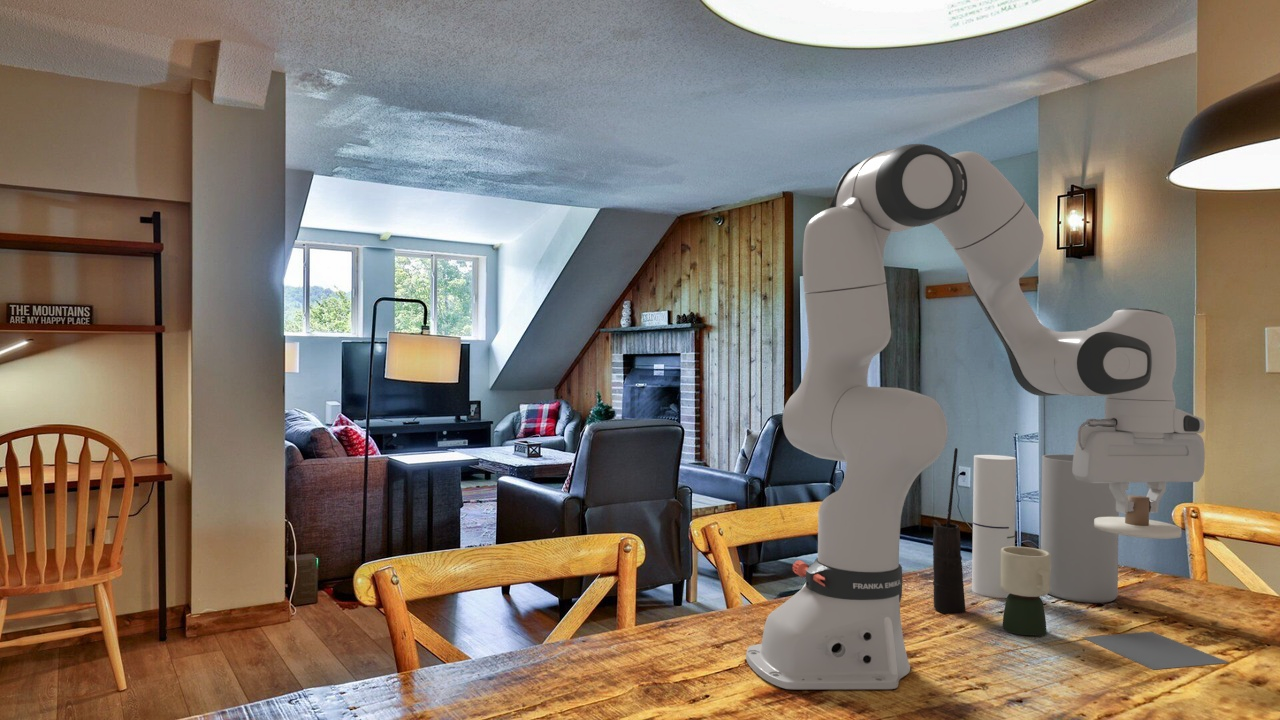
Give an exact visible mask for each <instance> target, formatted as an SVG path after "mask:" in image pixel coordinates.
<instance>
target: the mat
mask: <svg viewBox="0 0 1280 720" xmlns="http://www.w3.org/2000/svg"><path fill="white" fill-rule="evenodd" d="M1080 638H1081V639H1084V640H1085V641H1087V642H1088V641H1089V642H1090V643H1093V644H1094V645H1096V646H1099V647H1101V648H1103V649H1105V650H1107V651H1110V652H1113V653H1114V654H1117V655H1119V656H1121V657H1123V658H1125V659H1127V660H1130V661H1133V662H1135V663H1136V664H1138V665H1141V666H1143V667H1145V668H1148V669H1150V670H1152V671H1156V670H1171V669H1179V668H1189V667H1202V666H1212V665H1213V666H1214V665H1223V664H1230V662H1229V661H1227V660H1224V659H1222V658H1219V657H1217V656H1215V655H1212V654H1209V653H1207V652H1205V651H1202V650H1199V649H1198V648H1194V647H1191V646H1189V645H1187V644H1184V643H1182V642H1180V641H1177V640H1174V639H1172V638H1169V637H1167V636H1164V635H1162V634H1159V633H1157V632H1155V631H1141V632H1131V633H1117V634H1105V635H1093V636H1090V635H1089V636H1081V637H1080Z"/></svg>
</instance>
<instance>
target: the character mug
mask: <svg viewBox="0 0 1280 720" xmlns="http://www.w3.org/2000/svg"><path fill="white" fill-rule="evenodd" d="M1050 572H1051V566H1050V553H1049V552H1047V551H1044V550H1041V548H1035V547H1027V546H1016V545H1015V546H1011V547H1004V548H1001V589H1002V590H1004V591H1006V592H1008V593H1010V594H1009V595H1008V596H1007V598H1006V599H1005V603H1004V610H1003V615H1002V616H1003V617H1002V625H1001V627H1002V628H1003V630H1004V631H1005V632H1007V633H1009V634H1013V635H1014V634H1015V635H1020V636H1021V635H1022V636H1023V635H1024V636H1041V637H1045V636H1046V635H1048V631H1047V620H1046V613H1045V605H1044V602H1043V600H1042V598H1041V597H1045V596H1047V595H1049V594H1048V593H1049V592H1050V589H1051V587H1050Z"/></svg>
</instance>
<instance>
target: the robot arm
mask: <svg viewBox="0 0 1280 720" xmlns="http://www.w3.org/2000/svg"><path fill="white" fill-rule="evenodd" d="M930 224H932V225H934V226H935V227H936V228H937V229H938V230H939V231H941V233H942V234H943V236H944V237H945V239H946V240H947V241H948V243H949V245H950V246H951V247H952V249H953V250H954V252H955V253H956V254H957V256H958V257H959V259H960V260H961V262H962V264H963V266H964V267H965V270H966V272H967V274H966V275H967V281H968V284H969V287H970V289H971V291H972V293H973V295H974V298H975V300H976V301H977V303H978V304H979V305H980V308H981V310H982V311H983V313H984V315H985V316H986V318H987V320H988V321H989V323H990V324H991V326H992V328H993V330H994V332H995V333H996V335H997V336H998V338H999V341H1000V342H1001V343H1002V345H1003V348H1004V349H1005V352H1006V353H1007V357H1008V360H1009V364H1010V368H1011V370H1012V374H1013V377H1014V378H1015V380H1016V382H1017V384H1019V385H1020V387H1021V388H1023V390H1025V391H1026V392H1028V394H1029V393H1030V394H1031V395H1034V396H1039V397H1040V396H1041V397H1046V396H1047V397H1049V396H1060V395H1061V396H1064V395H1065V396H1074V397H1075V396H1077V397H1084V396H1085V397H1087V396H1088V397H1104V396H1105V402H1104V403H1105V404H1104V408H1105V410H1104V418H1100V419H1097V418H1088V419H1086V420H1085V422H1082V423H1081V424H1080V426H1078V429H1077V439H1076V442H1075V446H1074V451H1073V452H1074V453H1073V455H1074V458H1073V468H1072V472H1073V475H1074V476H1075V478H1076V479H1077V480H1079V481H1084V482H1089V483H1109V489H1110V491H1111V492H1112V494H1113V496H1114V498H1115V500H1116V511H1117V512H1119V514H1120V513H1121V514H1125V513H1133V511H1134V509H1133V507H1134V502H1133V501H1129V499H1128V497H1127V495H1128V494H1127V493H1126V491H1129V486H1130V485H1129V483H1130V484H1131V483H1132V484H1133V483H1139V484H1141V483H1146V488H1147V489H1148V491H1147V494H1146V496H1145V497H1149V514H1150V513H1151V514H1153V513H1154V514H1156V513H1158V512H1159V509H1160V506H1159V505H1160V504H1159V503H1160V501H1161V500H1162V498H1163V495H1164V494H1165V492H1166V491H1167V483H1198V482H1199V481H1200V480H1202V477H1203V476H1204V475H1205V465H1206V464H1205V462H1206V452H1205V451H1206V449H1205V442H1204V439H1203V437H1202V436H1201V435H1200V434H1202V433H1203V432H1204V431H1205V424H1206V423H1205V420H1204V419H1203V418H1202V417H1199V416H1197V415H1193V414H1191V413H1189V412H1186V411H1183V410H1182V409H1179V408H1176V394H1175V392H1174V388H1173V383H1174V378H1175V375H1176V373H1177V372H1176V371H1177V346H1176V345H1177V343H1176V342H1177V341H1176V334H1175V328H1174V325H1173V322H1172V320H1171V318H1170V317H1169V316H1168V315H1166V314H1165V313H1163V312H1161V311H1157V310H1153V309H1147V308H1145V309H1144V308H1142V309H1141V308H1135V307H1134V308H1131V307H1130V308H1129V307H1128V308H1121V309H1117V310H1115V311H1113V313H1112V315H1111V316H1110V317H1109V318H1108V319H1106V320H1104V321H1103V322H1101V323H1099V324H1097V325H1095V326H1092V327H1089V328H1087V329H1085V330H1084V329H1083V330H1077V331H1076V330H1074V331H1072V330H1071V331H1058V330H1054V329H1050V328H1049V327H1046V326H1045V325H1044V324H1042V323H1041V321H1040V320H1039V319H1038V317H1037V315H1036V313H1035V312H1034V310H1033V308H1032V306H1031V305H1030V303H1029V301H1028V300H1027V298H1026V296H1025V294H1024V292H1023V290H1022V289H1021V284H1020V278H1022V277H1023V276H1024V275H1025V274H1026V273H1027V272H1028V271H1029V270H1030V269H1031V268H1032V267H1033V266H1034V264H1035V263H1036V262H1037V260H1038V258H1039V257H1040V254H1041V252H1042V248H1043V245H1044V240H1045V239H1044V237H1045V235H1044V232H1043V229H1042V226H1041V224H1040V222H1039V219H1038V218H1037V217H1036V215H1035V213H1034V212H1033V211H1032V209H1031V208H1030V207H1029V205H1028V203H1027V202H1026V201H1025V199H1024V198H1023V197H1022V195H1021V194H1020V192H1018V190H1017V189H1016V188H1015V187H1014V186H1013V184H1012V183H1011V182H1010V181H1009V180H1008V179H1007V178H1006V177H1005V176H1004V175H1003V173H1002V172H1001V171H1000V170H999V169H998V168H997V167H996V166H995V165H994V164H992V163H991V162H990V161H989V160H988V159H986V158H985V157H984V156H983V155H982V154H980V153H978V152H975V151H969V150H968V151H967V150H964V151H960V152H957V153H952V154H950V155H949V154H948V153H947V152H945V151H944V150H942V149H940V148H938V147H936V146H933V145H929V144H923V143H912V144H911V143H910V144H906V145H905V144H904V145H902V146H899V147H897V148H894V149H890V150H884V151H880V152H878V153H875V154H873V155H871V156H869V157H867V158H865V159H864V160H862V161H859V162H857V163H855V164H853V165H852V166H851V167H849V168H848V169H847V170H846V171H845V172H844V173H843V175H842V176H841V178H839V181H838V183H837V185H836V187H835V190H834V194H833V198H832V200H831V203H830V205H829V208H827V209H825V210H822V211H820V212H818V213H817V214H815V215H814V216H813V217H811V219H809V221H808V222H807V224H806V226H805V229H804V233H803V242H802V243H803V244H802V278H803V280H802V281H803V292H804V300H805V310H806V311H805V312H806V323H807V324H806V325H807V333H808V334H807V335H808V348H807V349H808V352H807V360H806V366H805V369H804V373H803V377H802V379H801V382H800V384H799V386H798V387H797V389H796V390H795V391H794V393H792V395H791V396H790V397H789V398H788V400H787V402H786V403H785V405H784V409H783V413H782V428H783V433H784V435H785V437H786V439H787V441H788V442H789V444H791V445H792V446H793V447H794V448H796V449H798V450H800V451H802V452H804V453H807V454H809V455H811V456H814V457H815V458H817V459H818V458H819V459H824V460H829V461H830V460H831V461H837V462H842V463H846V467H845V468H846V469H845V473H844V476H843V477H844V478H843V481H842V483H841V485H840V487H839V488H838V489H837V491H834V492H832V493H831V494H830V495H829V494H828V495H827V496H826V497H825V498H824V499H823V500H822V501H821V503H820V505H819V508H818V514H817V521H818V523H817V557H816V559H815V560H814V562H813V563H812V564H810V565H809V564H808V563H805V562H804V561H802V560H799V559H798V560H796V561H794V563H793V564H792V567H791V568H792V571H793V572H794V574H796V575H798V577H801V578H805V585H804V586H803V587H802V588H801V589H800V590H799V591H797V592H795V594H793V595H792V596H791V597H790V598H788V599H787V600H785V602H783V603H782V604H781V605H780V606H778V607H776V608H775V609H774V610H772V611H771V612H770V613H769V614H768V616H767V618H766V620H765V623H764V628H763V633H762V639H761V643H759V644H757V643H756V644H752V645H749V646H748V647H747V650H746V654H745V655H746V656H745V660H746V663H747V664H748V666H749V667H750V669H752V671H753V672H755V673H756V675H757V676H759V677H760V678H761V679H763V680H764V681H767V682H768V683H770V684H771V685H774V686H776V687H778V688H782V689H785V690H893V689H894V690H895V689H897V688H898V686H899V683H900V682H899V681H900V680H901V679H902V678H904V677H905V676H907V675H908V674H909V673H910V671H911V666H910V665H911V664H910V662H909V659H908V654H907V650H906V646H905V641H904V634H903V627H902V619H901V606H900V603H901V601H902V596H903V595H902V594H903V566H902V565H901V564H900V542H901V541H900V537H901V522H902V521H901V520H902V513H903V507H904V505H905V504H904V503H905V501H906V498H907V496H908V493H909V491H910V488H911V487H912V485H913V483H914V481H915V480H916V479H917V477H918V476H919V475H920V474H921V473H922V472H923V471H924V470H925V469H926V468H928V467H929V466H931V465H932V464H933V463H935V461H937V460H938V458H939V457H940V455H942V452H943V451H944V448H945V446H946V443H947V438H948V422H947V419H946V415H945V413H944V411H943V409H942V407H941V406H940V404H939V403H938V401H936V399H934V398H932V397H931V396H928V395H925V394H922V393H919V392H916V391H914V390H909V389H906V388H900V387H888V386H887V387H886V386H869V385H868V376H869V375H868V373H869V368H870V364H871V362H872V360H873V358H874V357H875V356H877V355H878V354H880V353H881V352H882V351H883V350H884V349H885V348H886V347H887V345H888V344H889V342H890V339H891V337H892V329H891V319H890V317H891V316H890V309H889V298H888V297H889V296H888V289H887V283H886V282H887V280H886V279H887V278H886V272H885V271H886V270H885V264H884V260H883V259H884V253H885V246H886V242H887V240H888V237H889V235H890V234H891V233H898V232H903V231H906V230H909V229H912V228H915V227H923V226H926V225H930Z"/></svg>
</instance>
